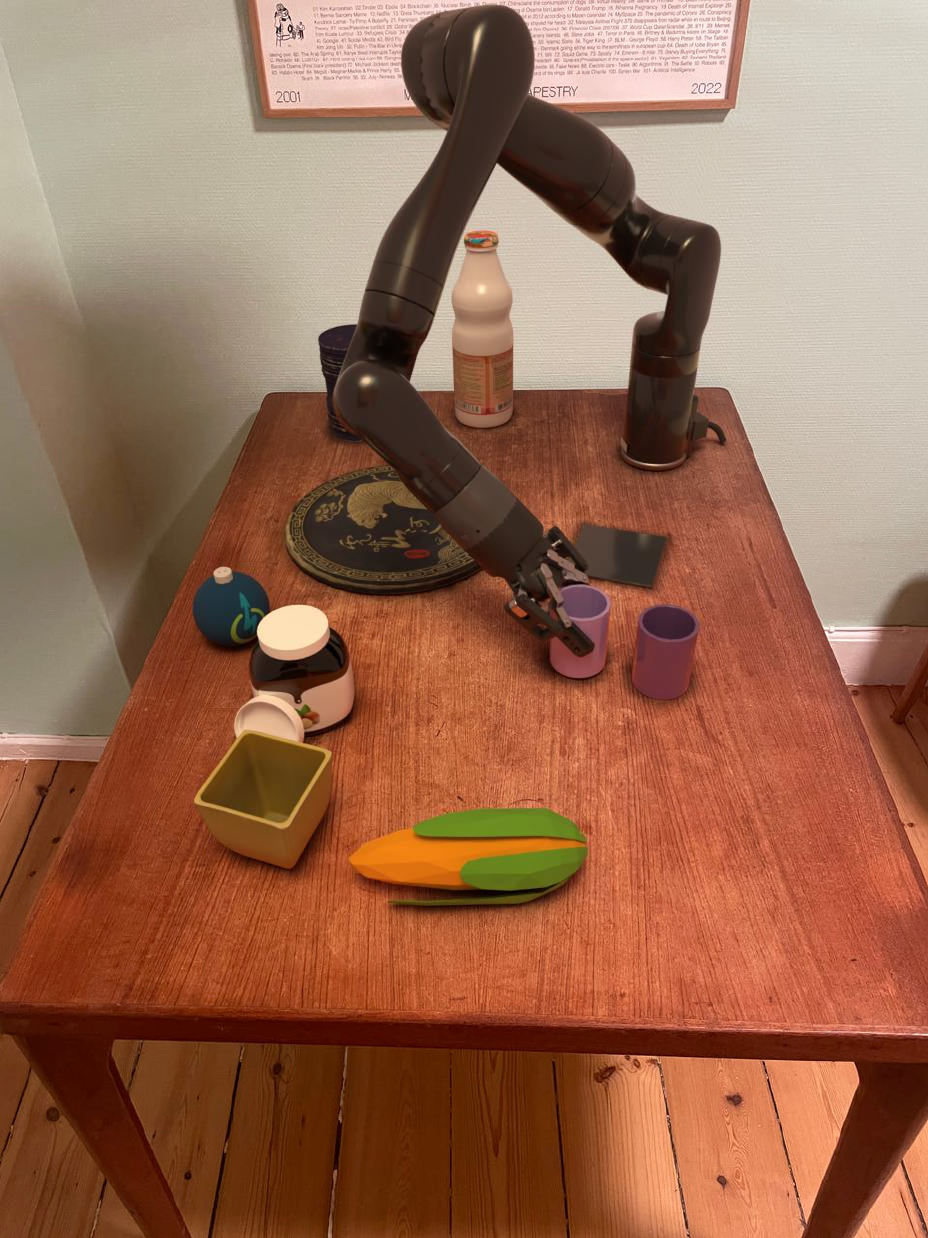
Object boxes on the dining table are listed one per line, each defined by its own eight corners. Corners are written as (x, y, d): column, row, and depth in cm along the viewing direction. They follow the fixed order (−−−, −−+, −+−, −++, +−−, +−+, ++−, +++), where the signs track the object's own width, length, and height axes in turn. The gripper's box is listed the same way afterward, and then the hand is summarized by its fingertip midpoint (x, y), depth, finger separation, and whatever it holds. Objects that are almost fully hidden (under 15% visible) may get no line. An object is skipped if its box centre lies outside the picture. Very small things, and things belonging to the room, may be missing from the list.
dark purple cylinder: (317, 427, 143) (304, 336, 133) (365, 407, 148) (356, 318, 138) (355, 448, 137) (343, 355, 128) (404, 427, 142) (397, 335, 133)
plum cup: (666, 655, 98) (675, 597, 93) (700, 688, 94) (711, 630, 89) (620, 672, 96) (627, 614, 91) (653, 707, 92) (661, 648, 87)
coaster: (583, 526, 119) (583, 523, 118) (667, 539, 116) (667, 537, 115) (563, 573, 111) (563, 570, 110) (652, 589, 108) (652, 586, 107)
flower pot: (346, 815, 82) (334, 749, 77) (302, 894, 76) (286, 828, 70) (261, 793, 85) (244, 727, 79) (213, 867, 78) (190, 801, 73)
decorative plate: (503, 589, 105) (256, 579, 108) (503, 602, 106) (258, 592, 109) (516, 464, 129) (312, 459, 131) (516, 476, 130) (313, 471, 132)
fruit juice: (455, 430, 141) (448, 246, 123) (454, 403, 148) (447, 226, 130) (514, 428, 141) (516, 243, 123) (511, 401, 148) (512, 223, 130)
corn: (598, 851, 69) (340, 869, 69) (593, 913, 74) (350, 930, 73) (582, 782, 75) (344, 798, 75) (578, 843, 80) (354, 859, 79)
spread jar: (354, 680, 97) (342, 595, 89) (363, 758, 88) (350, 670, 81) (242, 696, 95) (220, 611, 88) (240, 776, 87) (215, 689, 79)
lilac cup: (586, 635, 101) (590, 578, 95) (615, 667, 96) (622, 609, 91) (539, 651, 99) (541, 594, 94) (568, 685, 94) (571, 627, 89)
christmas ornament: (205, 668, 99) (185, 597, 93) (197, 623, 105) (178, 553, 99) (281, 651, 101) (265, 579, 94) (269, 607, 107) (254, 538, 101)
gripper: (490, 541, 82) (608, 662, 87) (532, 466, 93) (635, 577, 97) (439, 578, 87) (553, 690, 91) (484, 502, 98) (585, 606, 102)
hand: (595, 632), depth 94 cm, fingers closed on lilac cup, 6 cm apart
